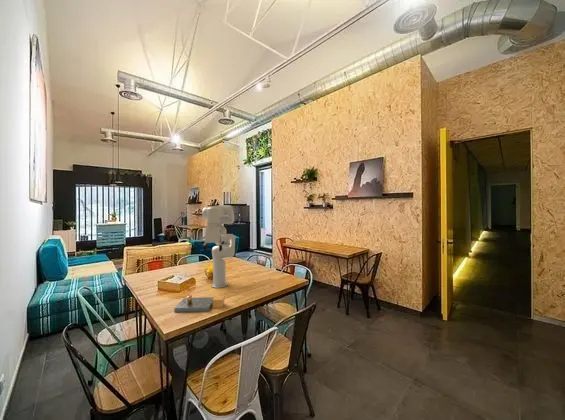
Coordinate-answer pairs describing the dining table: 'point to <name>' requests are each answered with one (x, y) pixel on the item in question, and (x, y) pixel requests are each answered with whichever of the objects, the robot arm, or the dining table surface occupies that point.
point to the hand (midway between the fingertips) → (213, 251)
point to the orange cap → (218, 302)
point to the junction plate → (194, 304)
